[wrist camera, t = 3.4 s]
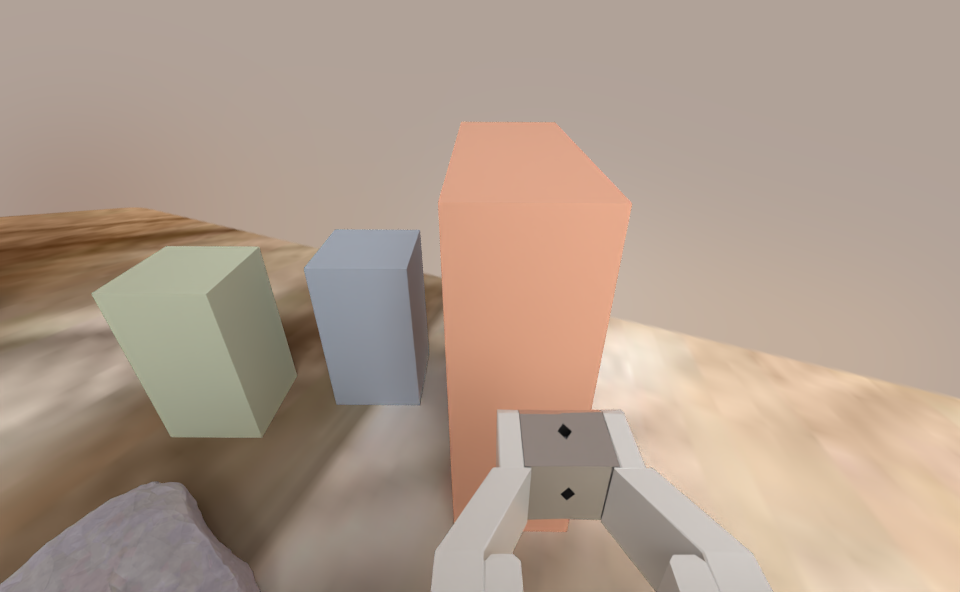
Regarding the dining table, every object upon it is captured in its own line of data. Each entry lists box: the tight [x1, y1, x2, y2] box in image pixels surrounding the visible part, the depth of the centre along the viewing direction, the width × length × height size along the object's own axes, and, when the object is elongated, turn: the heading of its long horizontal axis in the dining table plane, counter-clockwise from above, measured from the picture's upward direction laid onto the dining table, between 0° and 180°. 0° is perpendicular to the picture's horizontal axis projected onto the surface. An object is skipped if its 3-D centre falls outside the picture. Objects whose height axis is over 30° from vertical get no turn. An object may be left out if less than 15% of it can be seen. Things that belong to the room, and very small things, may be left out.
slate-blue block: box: [304, 229, 429, 405], centre depth 30 cm, size 6×6×11 cm
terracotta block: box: [438, 122, 632, 532], centre depth 24 cm, size 6×16×18 cm, turn 0°
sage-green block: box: [91, 246, 297, 438], centre depth 27 cm, size 6×6×11 cm
